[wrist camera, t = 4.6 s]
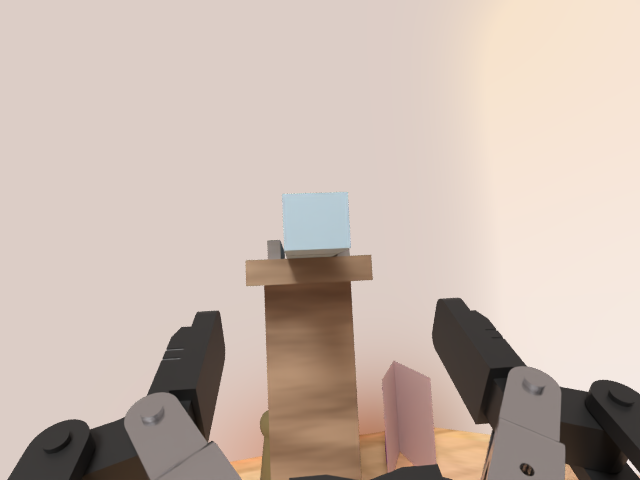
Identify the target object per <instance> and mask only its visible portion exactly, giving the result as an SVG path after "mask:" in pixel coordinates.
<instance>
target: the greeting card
mask: <svg viewBox="0 0 640 480" xmlns="http://www.w3.org/2000/svg"><path fill="white" fill-rule="evenodd" d="M382 386H383V387H382V390H383V403H384V419H385V452H386V461H387V468H388V473H389V472H391V471H394V470H395V467H396V463H397V460H398V456H399V452H401V453H402V454H403V455H404V456H405V457H406V458H407V459H408V460H409V461H410V462H411V463H412V464H413V465H414V466H423V465H433V464H436V450H435V437H434V425H433V424H434V423H433V410H432V396H431V383H430V378H429V377H427V376H425V375H423V374H421V373H419V372H416V371H414V370H412V369H410V368H408V367H406V366H404V365H402V364H399V363H398V362H395V361H393V363H392V364H391V366H390V368H389V369H388V371H387V373H386V374H385V376H384V378H383V379H382Z"/></svg>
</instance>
